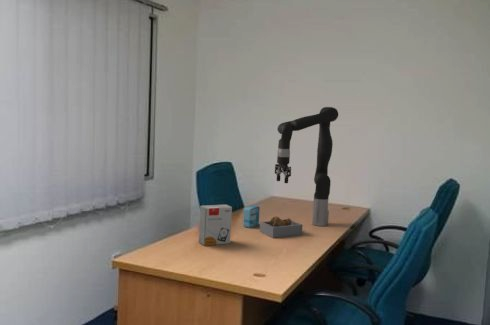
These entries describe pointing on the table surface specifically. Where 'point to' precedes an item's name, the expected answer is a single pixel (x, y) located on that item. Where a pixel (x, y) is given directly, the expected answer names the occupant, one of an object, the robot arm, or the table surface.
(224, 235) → the hard drive box
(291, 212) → the table surface
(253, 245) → the table surface
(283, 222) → the lion figurine
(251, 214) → the data package
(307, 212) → the table surface
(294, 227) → the bin
